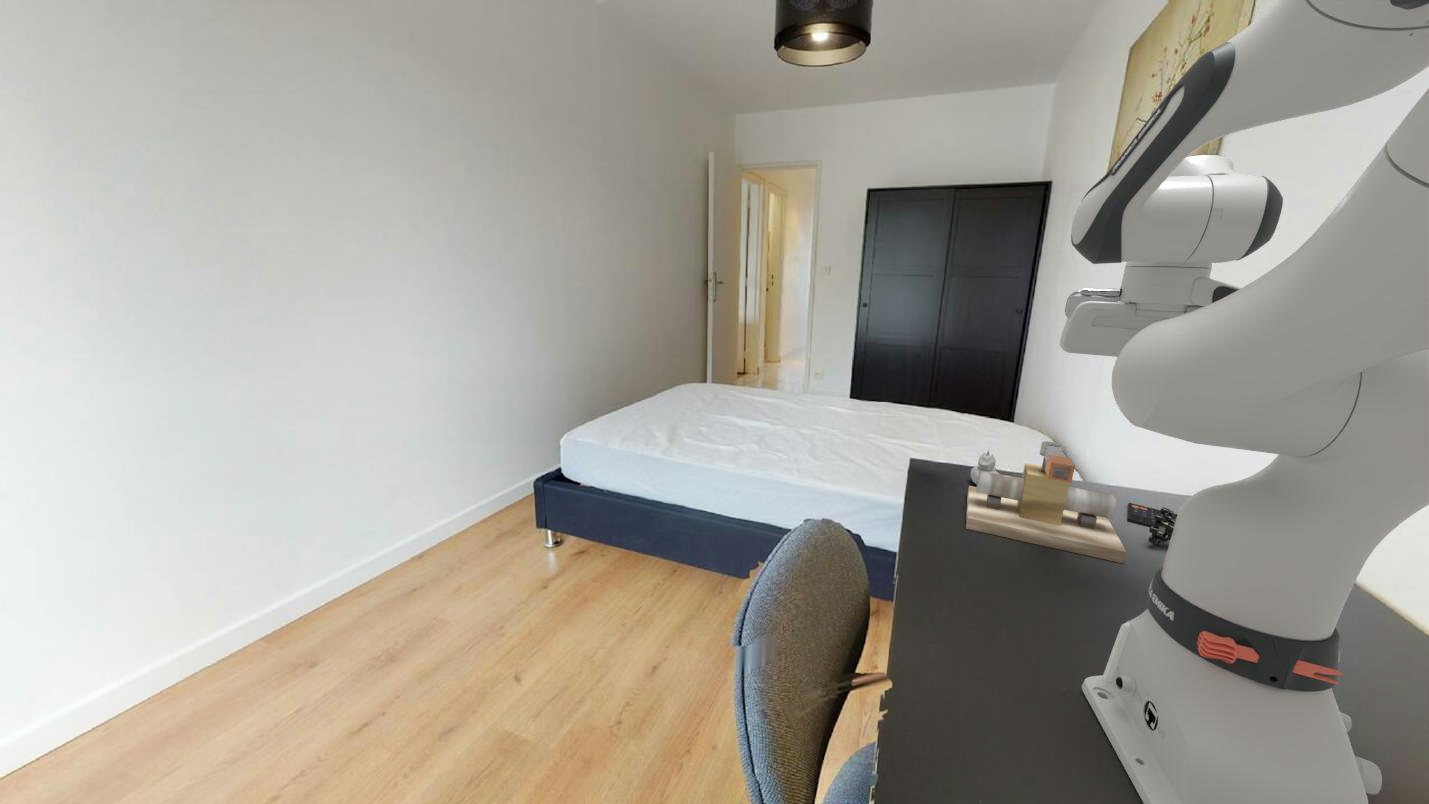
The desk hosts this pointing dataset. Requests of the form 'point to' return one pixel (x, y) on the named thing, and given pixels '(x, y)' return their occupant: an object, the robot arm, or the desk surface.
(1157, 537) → the valve
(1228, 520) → the robot arm
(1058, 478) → the valve lever
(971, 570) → the desk surface
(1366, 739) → the desk surface
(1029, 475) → the valve stand
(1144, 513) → the calculator
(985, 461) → the white meringue swirl
